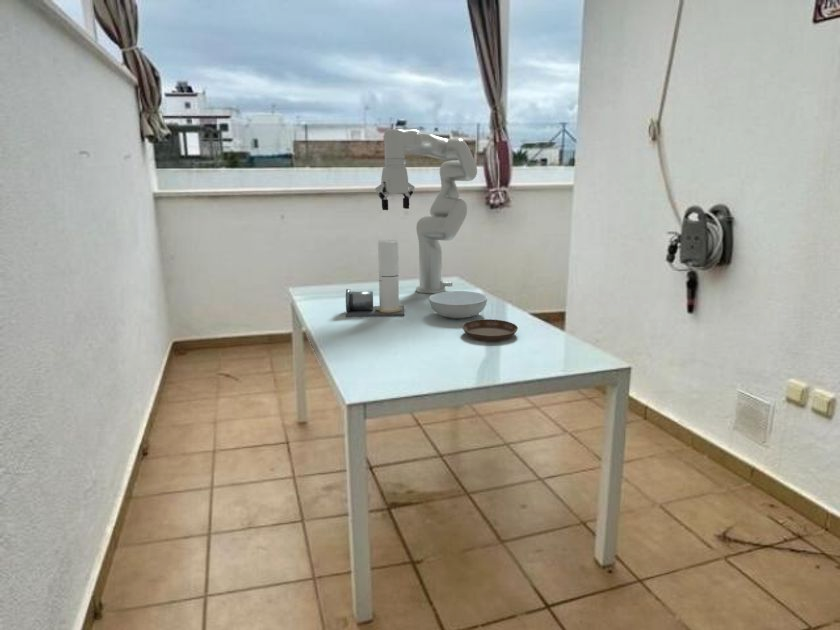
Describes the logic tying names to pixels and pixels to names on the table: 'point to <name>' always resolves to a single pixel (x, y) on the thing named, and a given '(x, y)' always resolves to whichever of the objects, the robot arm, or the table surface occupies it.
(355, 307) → the pipe fitting board
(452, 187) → the robot arm
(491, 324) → the plant saucer
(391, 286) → the cylindrical container
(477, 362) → the table surface
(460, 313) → the serving bowl
